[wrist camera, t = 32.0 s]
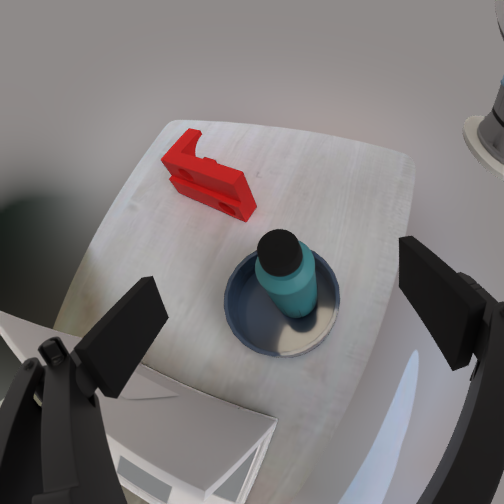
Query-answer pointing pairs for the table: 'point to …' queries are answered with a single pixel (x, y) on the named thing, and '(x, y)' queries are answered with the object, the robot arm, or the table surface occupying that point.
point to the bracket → (208, 179)
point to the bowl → (278, 312)
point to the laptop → (168, 431)
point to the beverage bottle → (287, 273)
